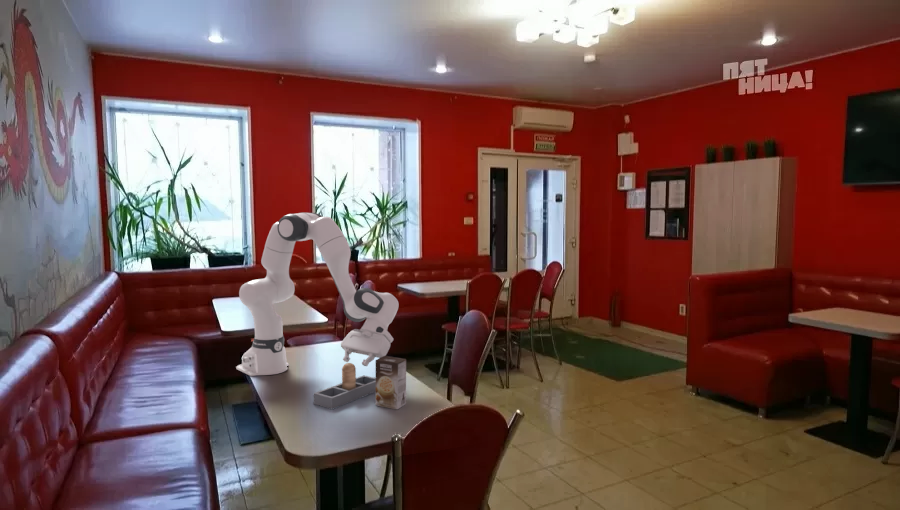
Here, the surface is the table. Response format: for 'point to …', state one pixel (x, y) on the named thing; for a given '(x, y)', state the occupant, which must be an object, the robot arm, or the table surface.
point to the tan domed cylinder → (348, 376)
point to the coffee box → (390, 382)
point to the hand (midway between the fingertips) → (354, 363)
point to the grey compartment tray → (345, 393)
